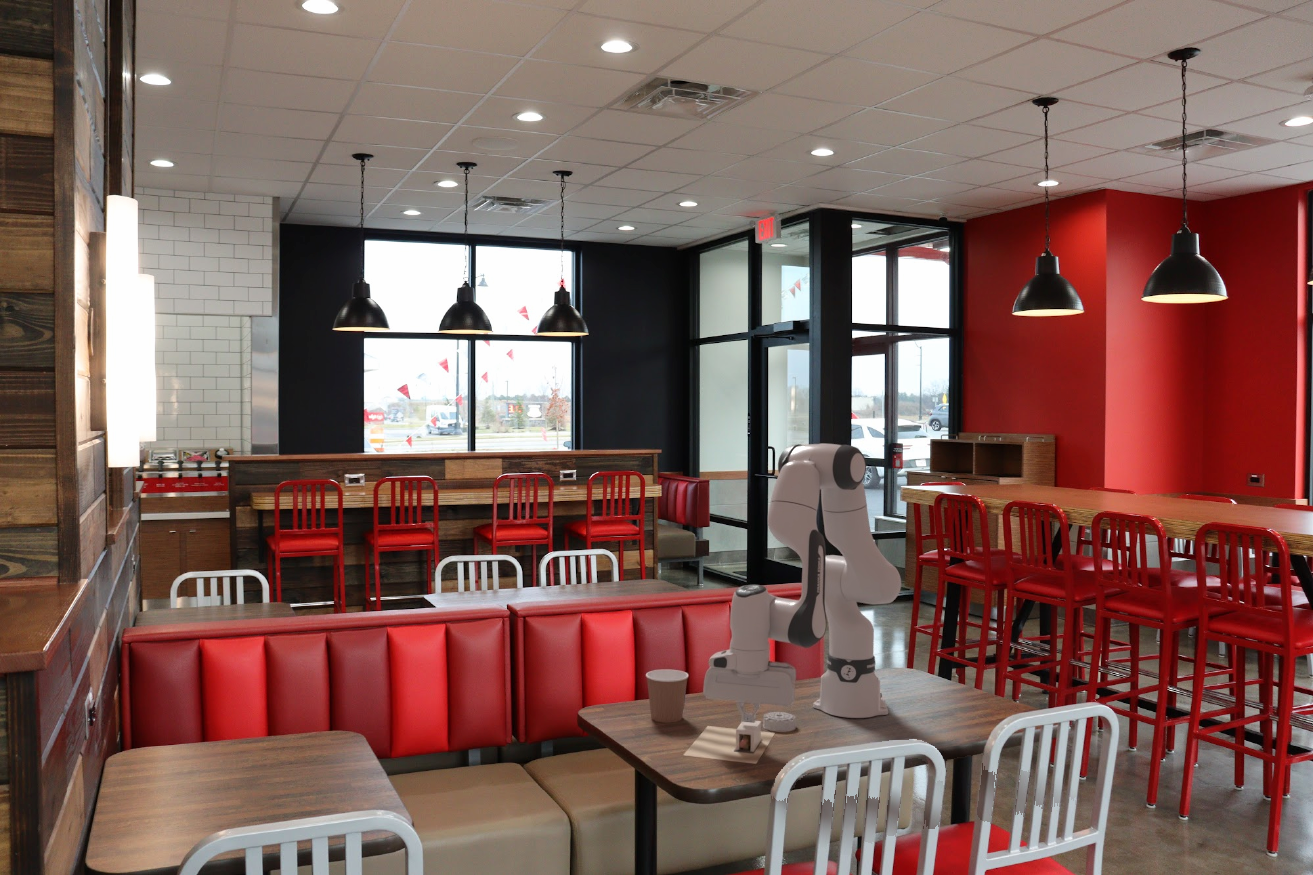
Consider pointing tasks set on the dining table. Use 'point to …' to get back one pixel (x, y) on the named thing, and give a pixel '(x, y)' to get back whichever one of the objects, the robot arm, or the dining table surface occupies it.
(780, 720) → the mechanical component
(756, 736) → the box
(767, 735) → the board
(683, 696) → the coffee cup
